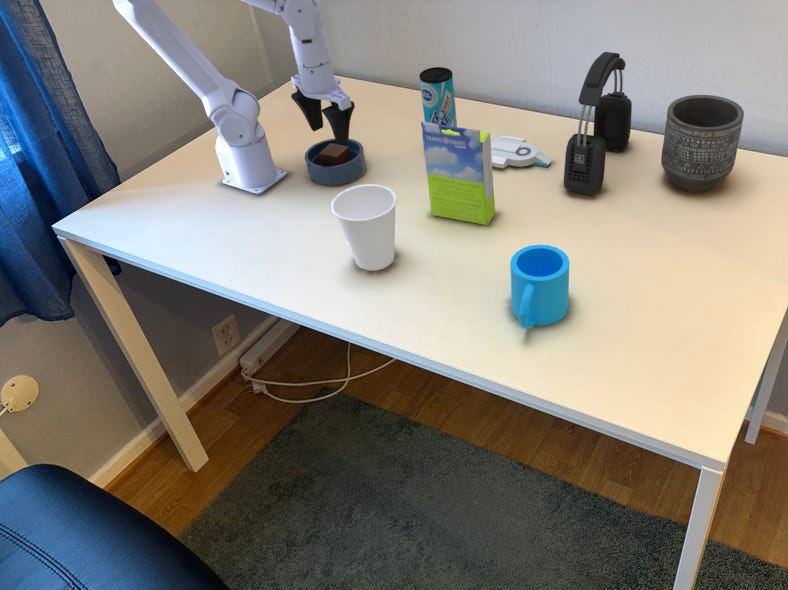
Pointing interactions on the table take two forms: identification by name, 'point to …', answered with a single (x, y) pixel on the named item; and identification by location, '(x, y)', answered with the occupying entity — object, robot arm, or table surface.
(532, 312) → the mug
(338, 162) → the block
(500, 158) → the toy rocket
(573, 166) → the headphones
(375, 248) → the cup
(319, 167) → the bowl
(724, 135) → the planter
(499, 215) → the table surface
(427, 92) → the blue printed cylinder
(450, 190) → the box
